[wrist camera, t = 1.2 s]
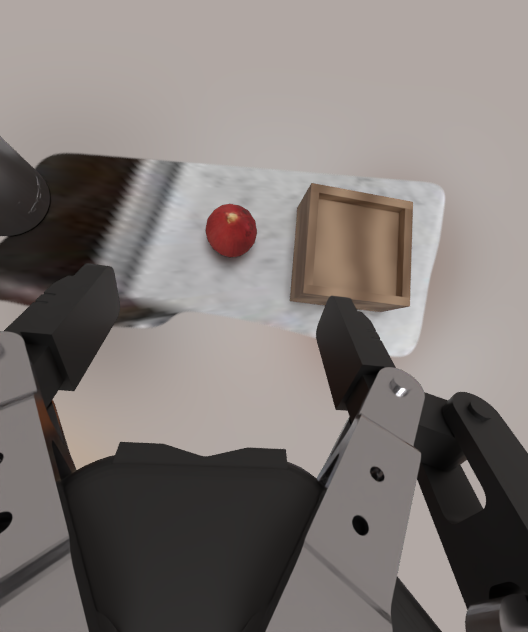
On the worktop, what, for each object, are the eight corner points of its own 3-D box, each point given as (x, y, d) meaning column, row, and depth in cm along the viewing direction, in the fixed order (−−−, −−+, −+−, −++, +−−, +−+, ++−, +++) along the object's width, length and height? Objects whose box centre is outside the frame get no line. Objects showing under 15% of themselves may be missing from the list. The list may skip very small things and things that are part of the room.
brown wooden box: (289, 301, 37) (303, 293, 31) (296, 208, 38) (311, 183, 32) (379, 312, 39) (409, 306, 33) (383, 223, 40) (412, 201, 34)
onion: (236, 213, 36) (241, 177, 28) (261, 249, 36) (272, 223, 29) (198, 235, 35) (192, 204, 27) (224, 272, 35) (225, 252, 27)
